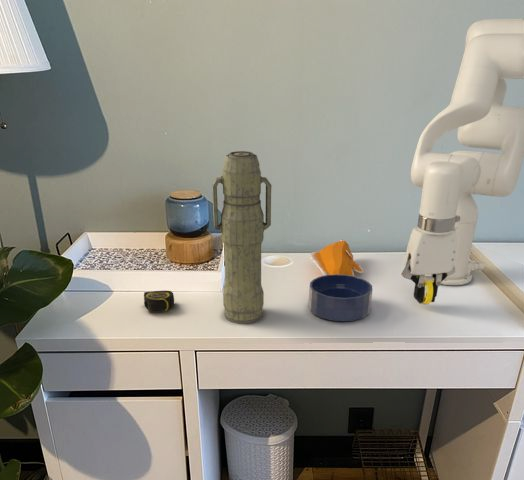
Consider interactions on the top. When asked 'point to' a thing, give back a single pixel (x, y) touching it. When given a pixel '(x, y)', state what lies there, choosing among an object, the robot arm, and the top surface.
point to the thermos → (242, 235)
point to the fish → (335, 260)
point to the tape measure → (159, 301)
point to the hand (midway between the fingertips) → (424, 299)
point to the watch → (428, 289)
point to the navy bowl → (340, 297)
